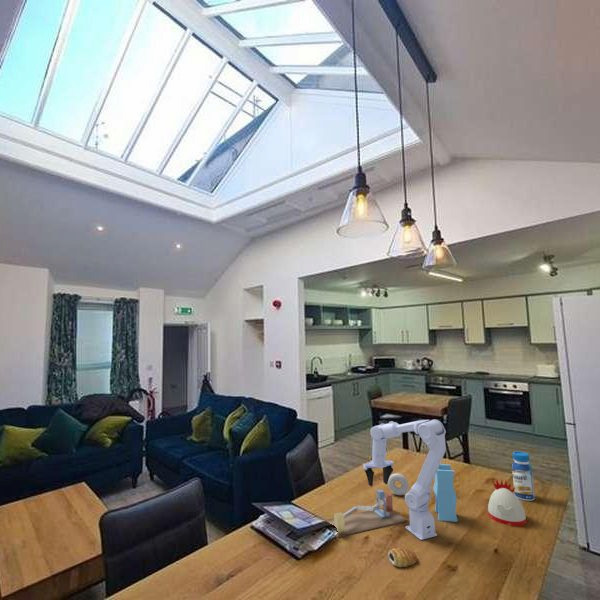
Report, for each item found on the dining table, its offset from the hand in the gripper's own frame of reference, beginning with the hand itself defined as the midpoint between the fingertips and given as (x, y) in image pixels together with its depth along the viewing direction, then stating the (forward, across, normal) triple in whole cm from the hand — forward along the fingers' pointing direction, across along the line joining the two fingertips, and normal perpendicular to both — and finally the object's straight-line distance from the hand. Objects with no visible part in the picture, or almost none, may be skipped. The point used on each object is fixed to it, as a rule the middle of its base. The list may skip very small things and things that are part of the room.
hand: (377, 484), depth 152 cm
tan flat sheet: (+12, +9, +5) cm, 16 cm away
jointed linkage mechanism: (+12, +9, +5) cm, 16 cm away
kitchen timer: (+9, -48, +24) cm, 55 cm away
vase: (+10, -25, +14) cm, 31 cm away
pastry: (+10, +11, +32) cm, 35 cm away
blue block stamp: (+11, 0, +3) cm, 12 cm away
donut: (+13, -19, -11) cm, 26 cm away
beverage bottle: (+9, -72, +14) cm, 74 cm away
